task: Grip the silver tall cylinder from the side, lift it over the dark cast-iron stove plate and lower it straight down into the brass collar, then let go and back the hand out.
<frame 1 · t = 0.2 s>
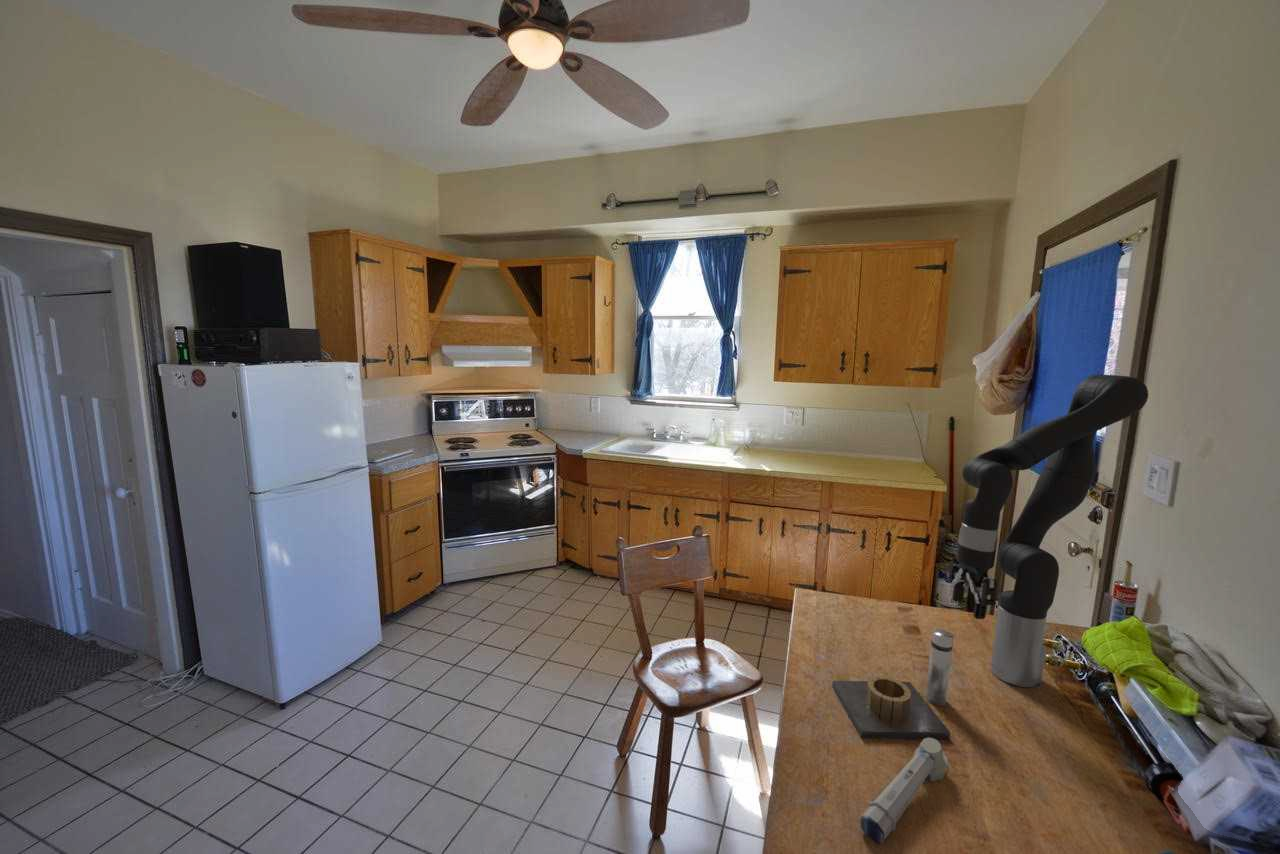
hand: (967, 609, 122), 17 cm above the table, tool pointing down, fingers open, 8 cm apart
silver tall cylinder: (935, 699, 116), on the table
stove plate: (886, 711, 112), on the table
grey faceted piece: (905, 800, 90), on the table
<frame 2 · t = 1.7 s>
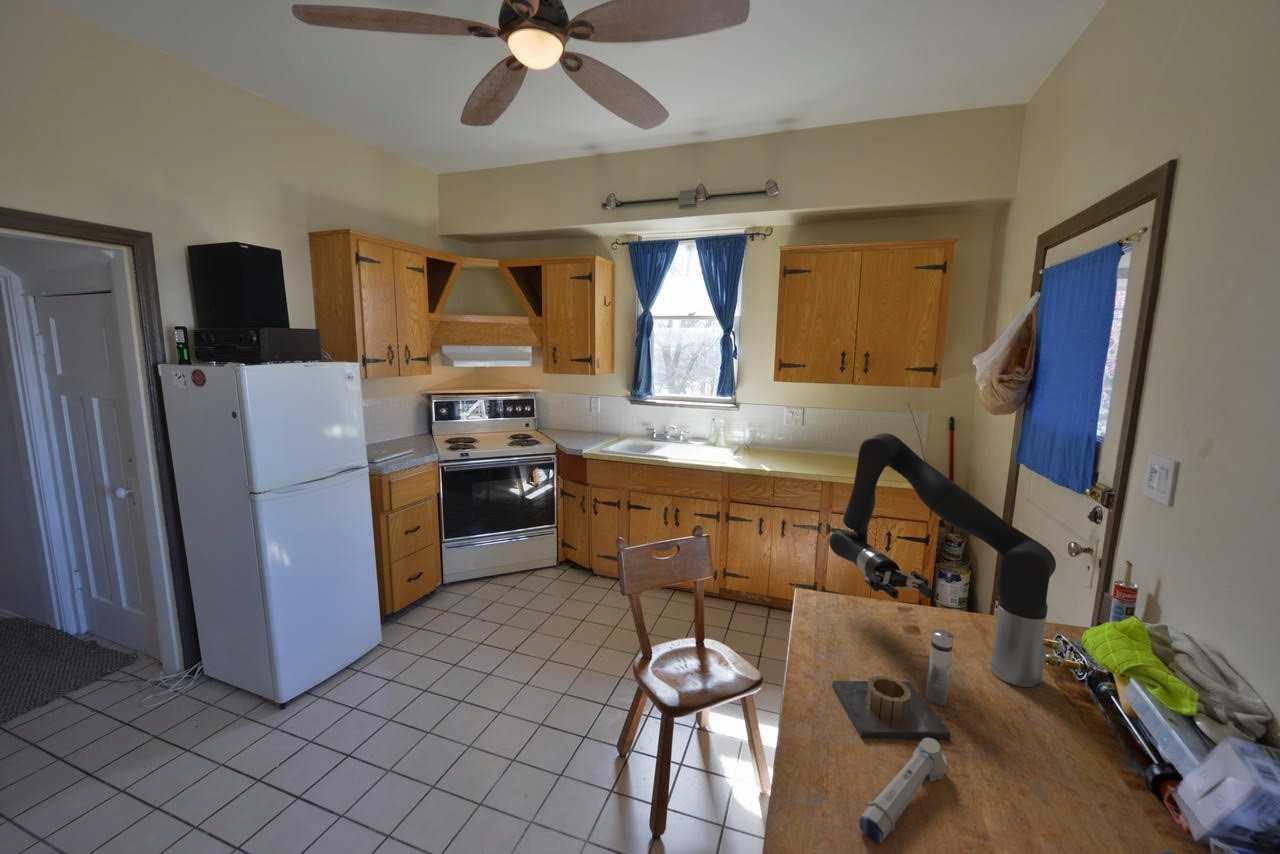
hand: (913, 595, 124), 20 cm above the table, tool horizontal, fingers open, 8 cm apart
nothing on the table moved.
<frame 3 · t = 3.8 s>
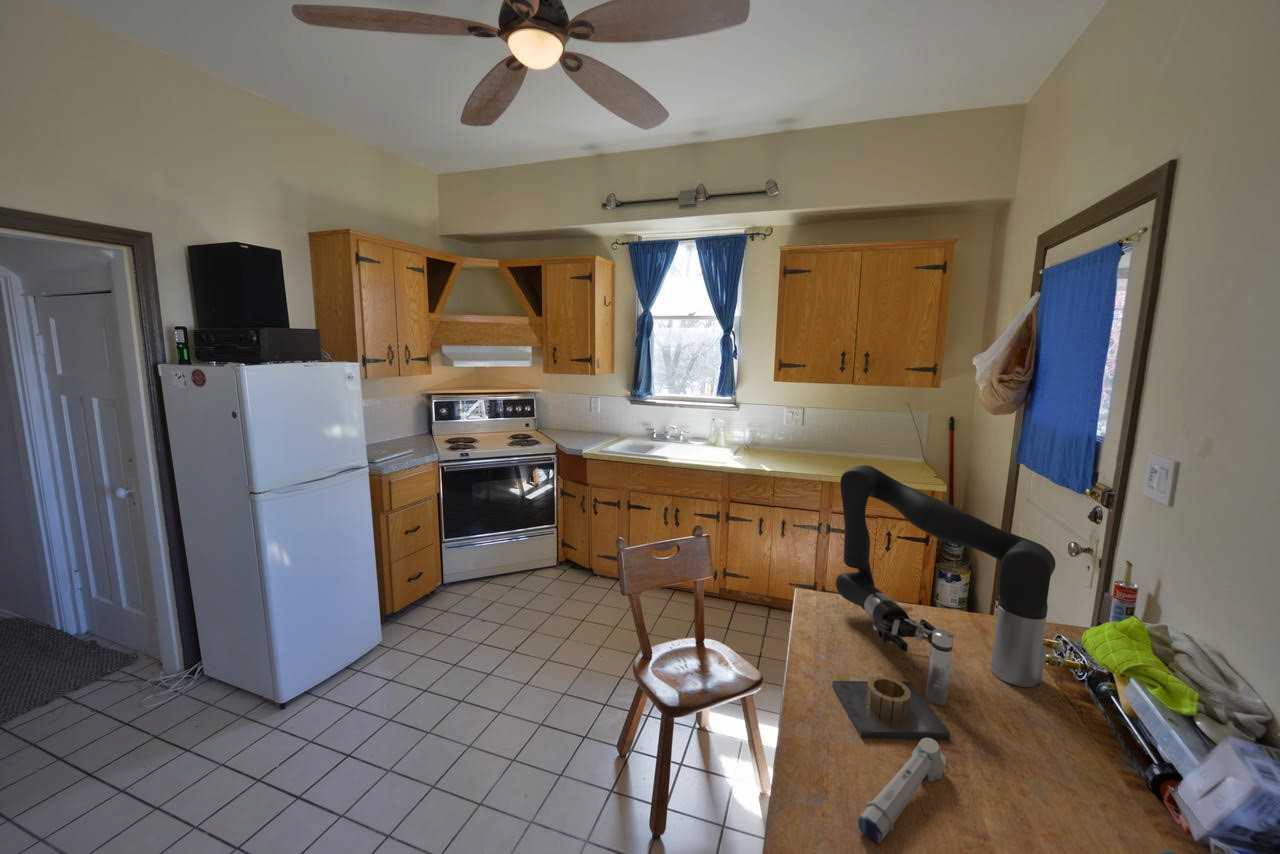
hand: (923, 647, 120), 9 cm above the table, tool horizontal, fingers open, 8 cm apart
nothing on the table moved.
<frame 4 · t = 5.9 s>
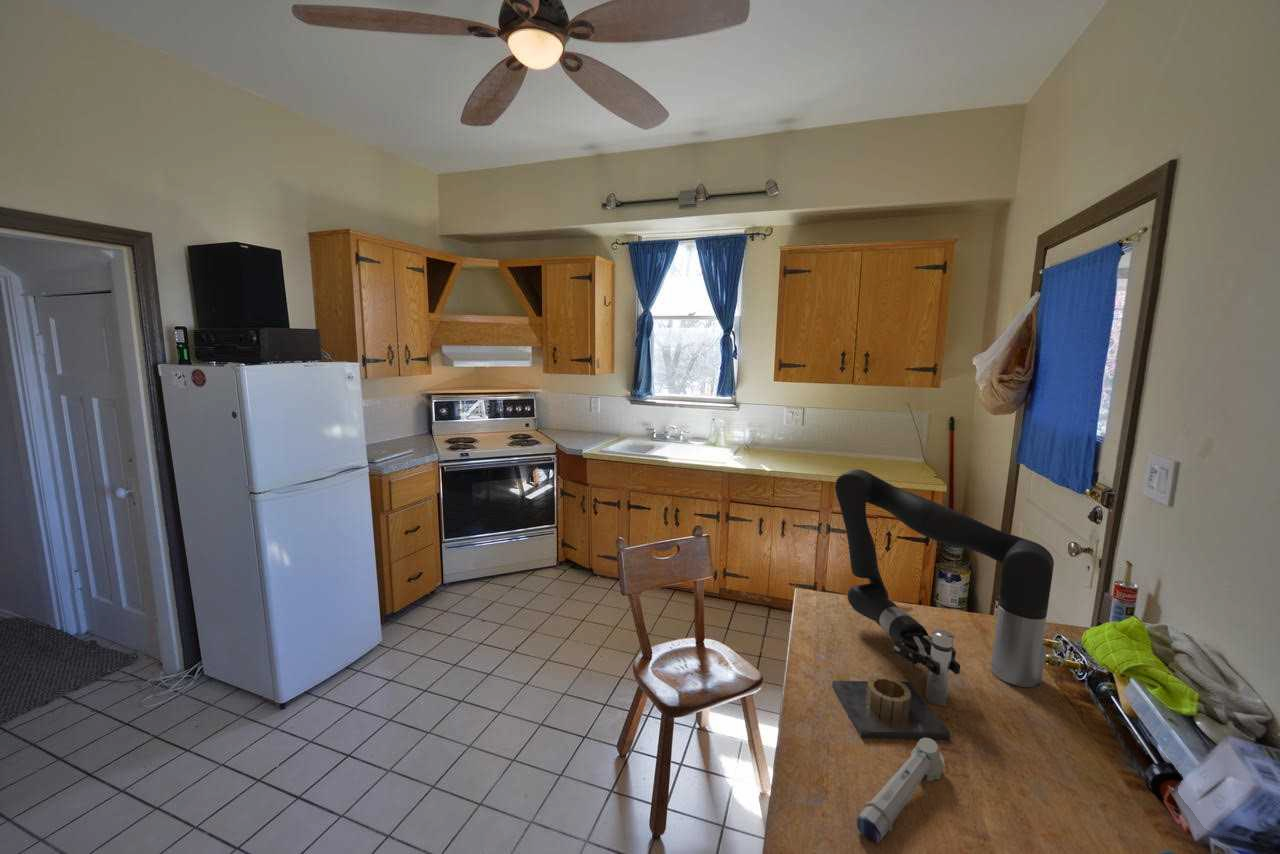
hand: (948, 670, 112), 9 cm above the table, tool horizontal, fingers closed on silver tall cylinder, 4 cm apart
silver tall cylinder: (935, 699, 116), on the table, touching gripper
everything else where it was.
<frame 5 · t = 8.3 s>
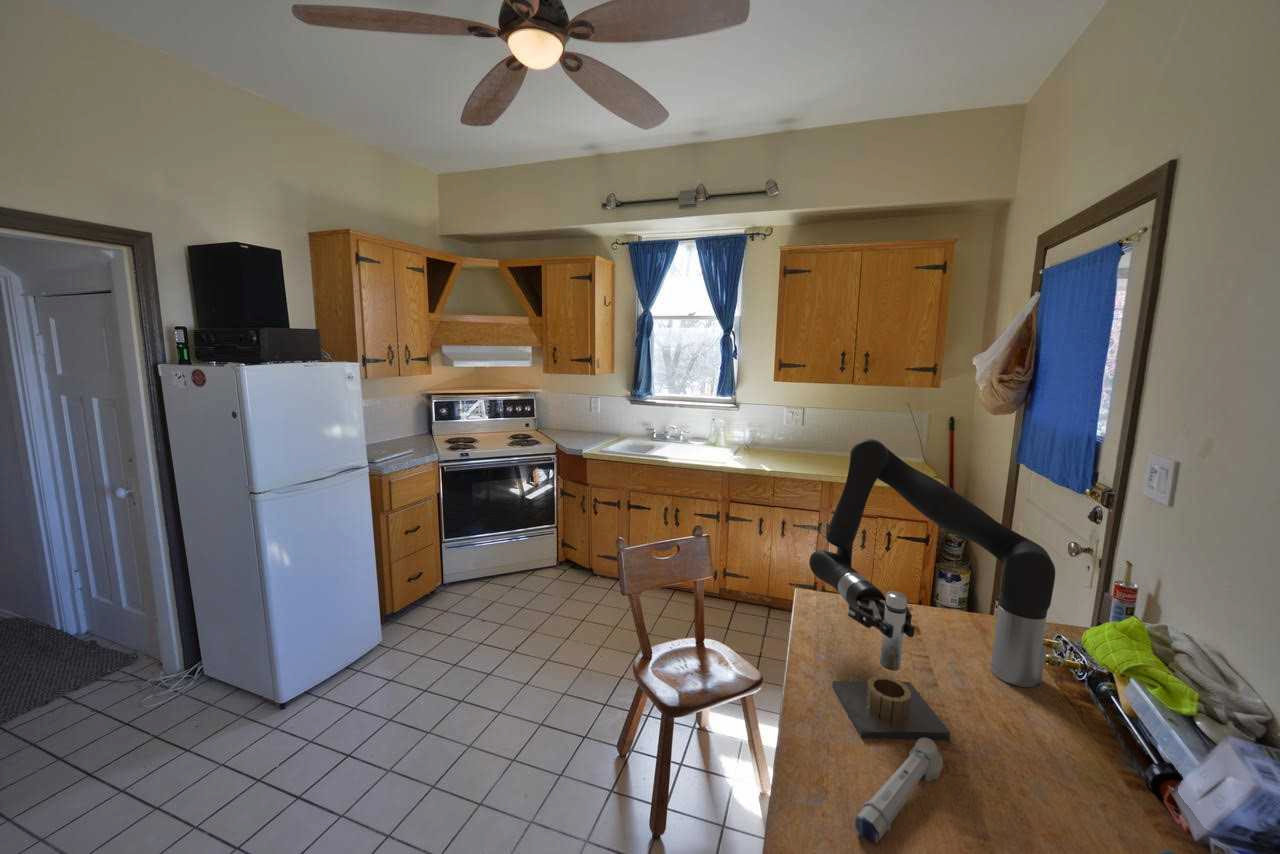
hand: (901, 633, 106), 20 cm above the table, tool horizontal, fingers closed on silver tall cylinder, 4 cm apart
silver tall cylinder: (890, 664, 110), point 11 cm above the table, touching gripper
everything else where it was.
when the fingers open (12 cm above the table, at t = 10.9 s): silver tall cylinder drops 1 cm, resting on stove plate.
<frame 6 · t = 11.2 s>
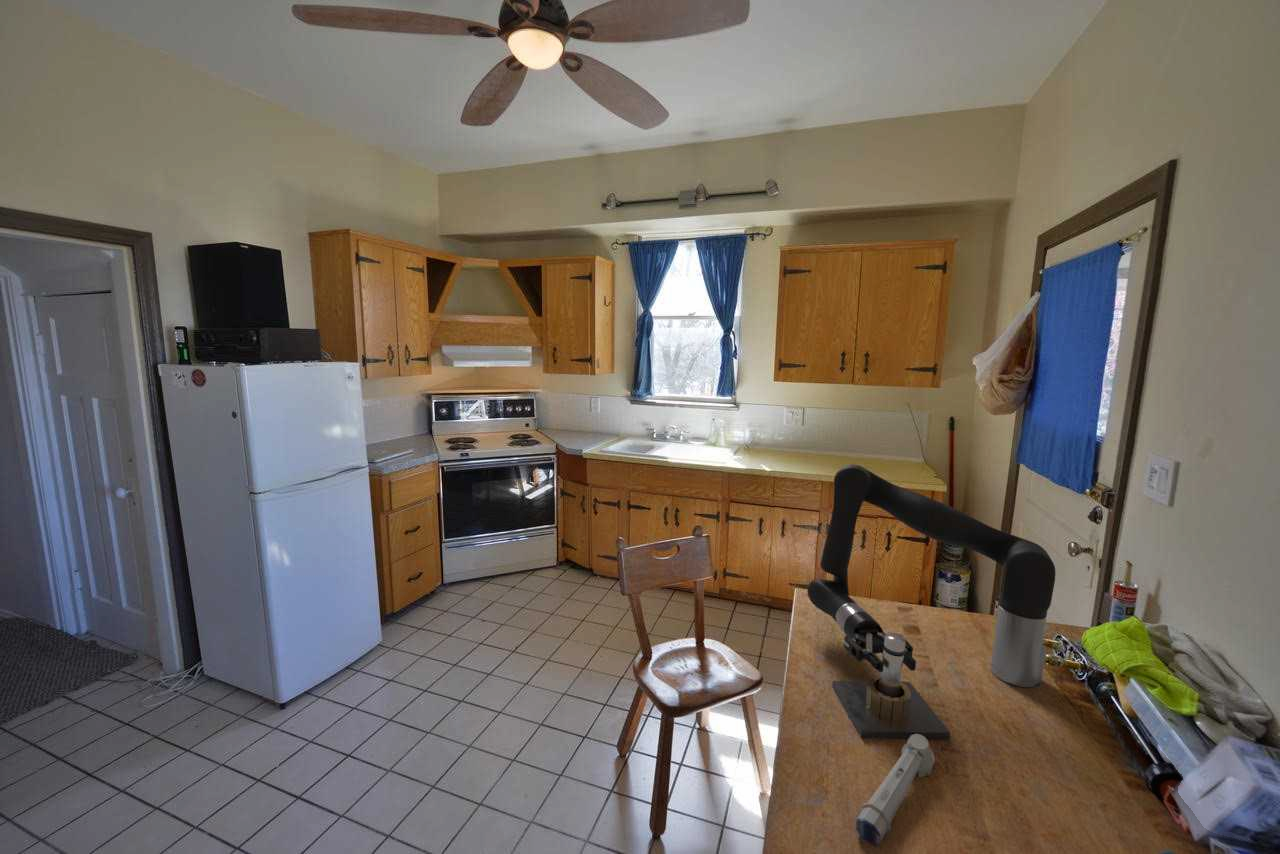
hand: (897, 667, 108), 12 cm above the table, tool horizontal, fingers open, 6 cm apart
silver tall cylinder: (886, 704, 112), point 2 cm above the table, touching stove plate
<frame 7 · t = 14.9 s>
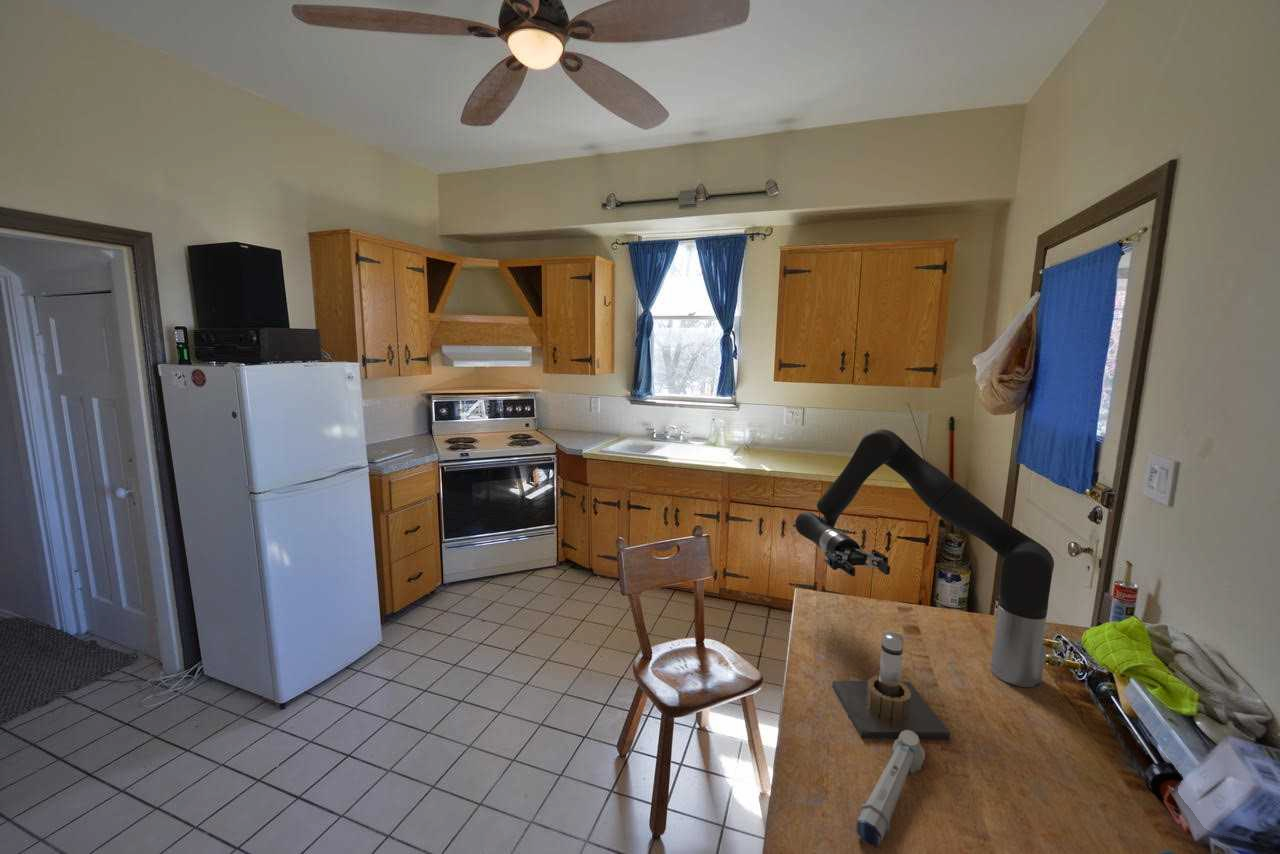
hand: (871, 571, 122), 26 cm above the table, tool horizontal, fingers open, 8 cm apart
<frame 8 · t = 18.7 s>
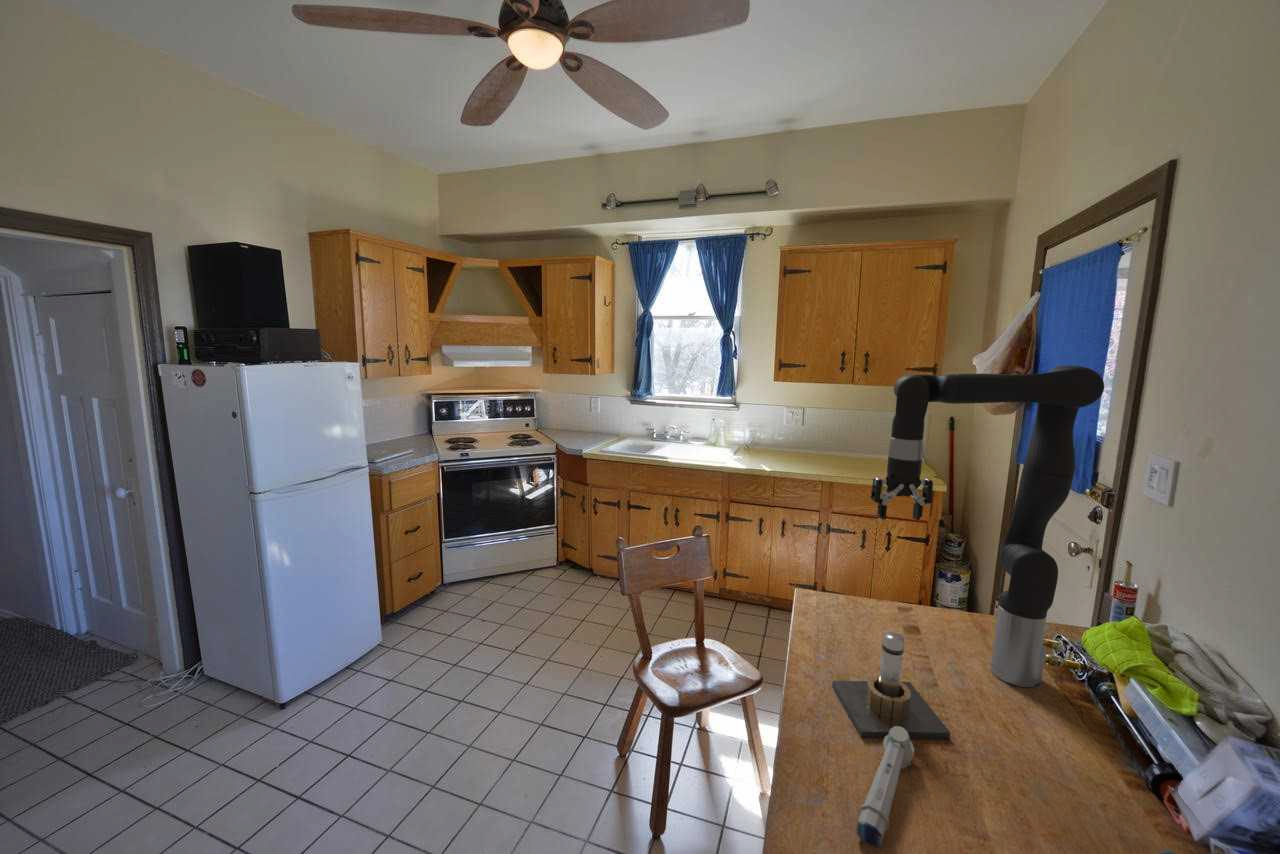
hand: (899, 518, 129), 36 cm above the table, tool pointing down, fingers open, 8 cm apart
at the end: silver tall cylinder 0.1 cm from the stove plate (horizontally); silver tall cylinder point 1.5 cm above the table; silver tall cylinder tilted 0° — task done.
